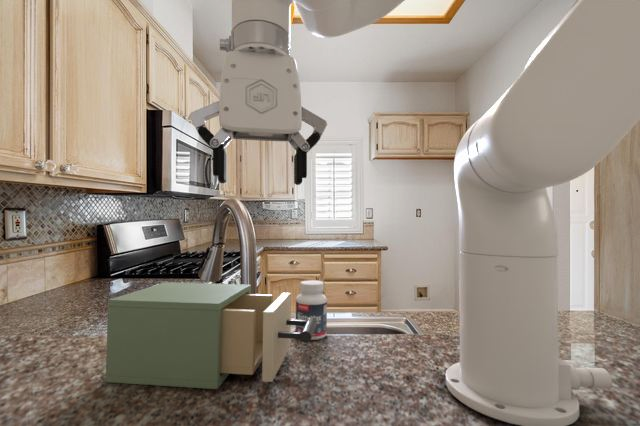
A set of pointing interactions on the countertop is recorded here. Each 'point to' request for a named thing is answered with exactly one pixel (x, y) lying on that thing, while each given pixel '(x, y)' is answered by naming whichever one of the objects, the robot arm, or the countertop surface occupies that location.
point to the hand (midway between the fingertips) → (261, 182)
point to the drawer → (259, 334)
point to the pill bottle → (312, 307)
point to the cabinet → (169, 334)
